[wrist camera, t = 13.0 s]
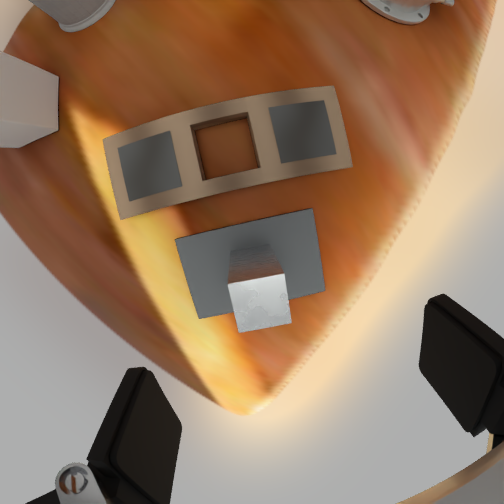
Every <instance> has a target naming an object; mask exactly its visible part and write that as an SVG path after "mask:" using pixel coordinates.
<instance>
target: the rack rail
mask: <svg viewBox="0 0 504 504" xmlns="http://www.w3.org/2000/svg"><path fill="white" fill-rule="evenodd" d="M246 118H247V121H248V125H249V129H250V134H251V138H252V142H253V147H254V151H255V155H256V160H257V164H258V168H257V169H252V170H248V171H243V172H239V173H234V174H230V175H226V176H221V177H217V178H213V179H209V180H206V179H205V174H204V170H203V166H202V161H201V157H200V152H199V148H198V143H197V139H196V134H195V130H198V129H202V128H206V127H210V126H214V125H218V124H222V123H227V122H231V121H236V120H241V119H246ZM103 144H104V150H105V155H106V160H107V165H108V170H109V174H110V179H111V183H112V188H113V192H114V196H115V200H116V204H117V208H118V212H119V216H120V220H123V219H126V218H129V217H133V216H136V215H139V214H143V213H146V212H150V211H153V210H157V209H161V208H164V207H168V206H172V205H175V204H179V203H183V202H187V201H191V200H194V199H198V198H202V197H206V196H211V195H215V194H219V193H223V192H227V191H232V190H236V189H240V188H245V187H249V186H254V185H259V184H263V183H268V182H273V181H278V180H283V179H288V178H293V177H298V176H303V175H309V174H314V173H320V172H326V171H332V170H338V169H344V168H350V167H353V165H352V159H351V154H350V149H349V145H348V140H347V135H346V131H345V127H344V122H343V118H342V114H341V110H340V106H339V102H338V98H337V95H336V91H335V87H334V86H323V87H312V88H302V89H294V90H286V91H279V92H272V93H266V94H260V95H254V96H249V97H244V98H238V99H234V100H229V101H224V102H220V103H215V104H211V105H207V106H203V107H199V108H195V109H191V110H188V111H184V112H180V113H177V114H174V115H170V116H167V117H164V118H160V119H157V120H154V121H151V122H148V123H145V124H142V125H139V126H136V127H134V128H131V129H128V130H125V131H123V132H120V133H117V134H115V135H112V136H110V137H107V138H105V139H103Z"/></svg>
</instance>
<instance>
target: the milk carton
mask: <svg viewBox="0 0 504 504" xmlns="http://www.w3.org/2000/svg"><path fill="white" fill-rule="evenodd" d="M58 82H59V77H58V76H56V75H53V74H51V73H49V72H47V71H45V70H43V69H41V68H38V67H36V66H34V65H32V64H29V63H27V62H25V61H23V60H20V59H18V58H16V57H13V56H11V55H9V54H6V53H4V52H1V51H0V147H6V148H20V147H22V146H24V145H26V144H29V143H31V142H33V141H35V140H37V139H39V138H42V137H44V136H46V135H49V134H51V133H53V132H56V131H58Z"/></svg>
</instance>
